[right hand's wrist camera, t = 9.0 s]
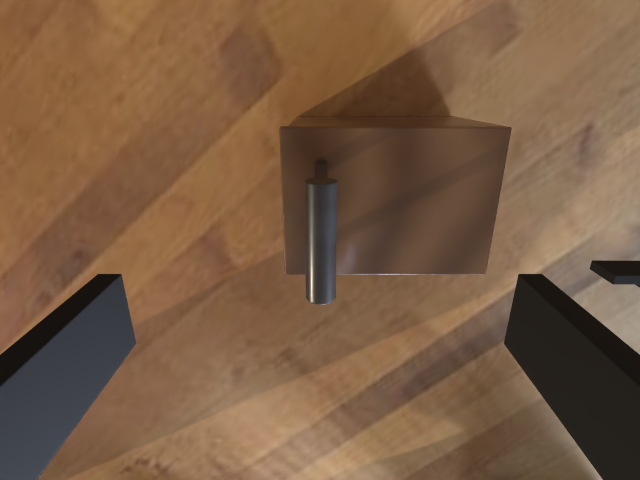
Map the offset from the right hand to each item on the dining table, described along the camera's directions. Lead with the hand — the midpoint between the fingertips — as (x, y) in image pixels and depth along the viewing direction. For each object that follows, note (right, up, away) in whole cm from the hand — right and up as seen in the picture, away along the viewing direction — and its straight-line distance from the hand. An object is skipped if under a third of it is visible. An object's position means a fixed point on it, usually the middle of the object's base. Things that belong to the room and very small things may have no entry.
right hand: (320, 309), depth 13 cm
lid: (+4, +5, +12) cm, 14 cm away
